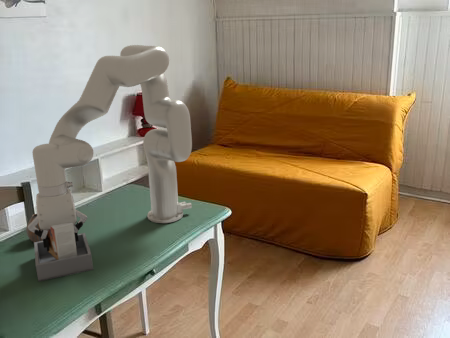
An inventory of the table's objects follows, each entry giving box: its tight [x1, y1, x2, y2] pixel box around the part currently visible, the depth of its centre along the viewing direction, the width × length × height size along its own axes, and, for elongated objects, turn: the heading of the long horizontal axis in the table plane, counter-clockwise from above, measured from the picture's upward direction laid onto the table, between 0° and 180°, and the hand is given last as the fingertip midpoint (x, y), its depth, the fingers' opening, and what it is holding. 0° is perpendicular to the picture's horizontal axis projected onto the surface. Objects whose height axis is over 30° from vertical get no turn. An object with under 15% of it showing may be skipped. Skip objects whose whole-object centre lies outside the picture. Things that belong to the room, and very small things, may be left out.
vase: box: [26, 213, 43, 243], centre depth 147 cm, size 7×7×9 cm
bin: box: [33, 232, 94, 283], centre depth 134 cm, size 15×15×5 cm
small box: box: [47, 223, 77, 260], centre depth 132 cm, size 8×6×10 cm
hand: (61, 246), depth 133 cm, fingers closed on small box, 6 cm apart
